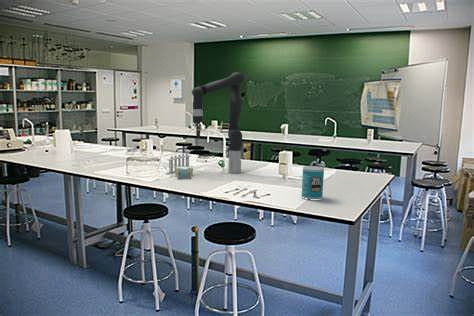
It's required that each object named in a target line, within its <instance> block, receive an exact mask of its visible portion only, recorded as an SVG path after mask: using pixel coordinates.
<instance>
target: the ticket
mask: <svg viewBox="0 0 474 316" xmlns="http://www.w3.org/2000/svg"><path fill="white" fill-rule="evenodd" d="M180 168H188V169H189V173H191V177H193V173H194V172H193V166H189V167H186V166H184V167H182V166H181V167H178V166H177V167H176V173H175V177H178V173H180Z"/></svg>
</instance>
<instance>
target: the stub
mask: <svg viewBox="0 0 474 316" xmlns="http://www.w3.org/2000/svg"><path fill="white" fill-rule="evenodd" d="M180 176H189V169H188V168H180Z"/></svg>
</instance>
